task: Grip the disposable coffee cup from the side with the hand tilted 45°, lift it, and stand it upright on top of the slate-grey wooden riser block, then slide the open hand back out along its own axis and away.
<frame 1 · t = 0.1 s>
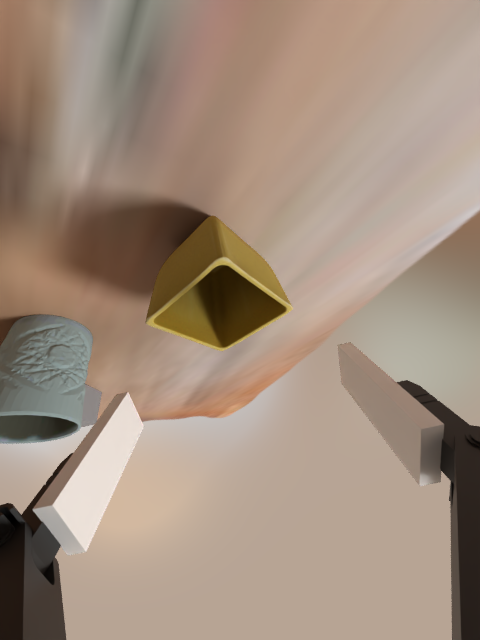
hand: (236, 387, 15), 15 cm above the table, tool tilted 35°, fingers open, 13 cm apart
grey-green cup: (55, 331, 31), on the table
riser block: (28, 388, 42), on the table
flower pot: (211, 246, 25), on the table
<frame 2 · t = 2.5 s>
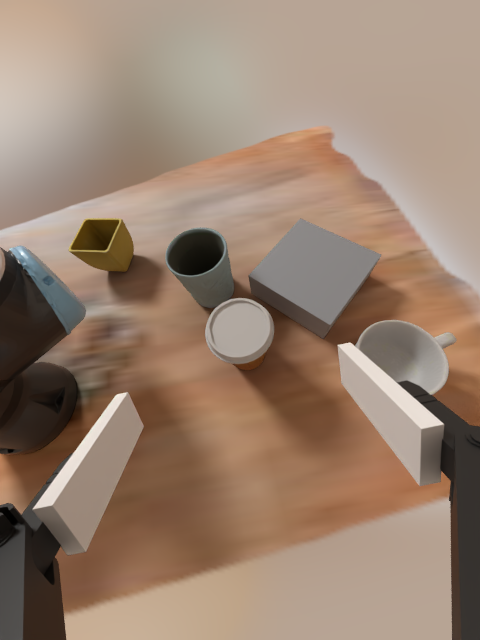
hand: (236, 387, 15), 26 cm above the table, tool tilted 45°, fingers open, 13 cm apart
disposable coffee cup: (247, 353, 43), on the table
grey-green cup: (212, 290, 49), on the table
riser block: (309, 284, 46), on the table
flower pot: (121, 263, 56), on the table
teacup: (387, 368, 38), on the table
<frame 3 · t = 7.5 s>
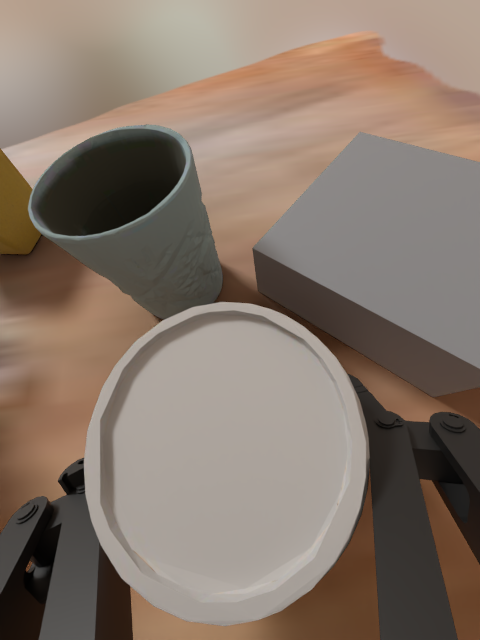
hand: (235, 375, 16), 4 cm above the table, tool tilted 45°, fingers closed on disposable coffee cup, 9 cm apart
disposable coffee cup: (251, 429, 18), on the table, touching gripper
grey-green cup: (181, 286, 25), on the table
riser block: (378, 271, 22), on the table
flower pot: (26, 240, 31), on the table
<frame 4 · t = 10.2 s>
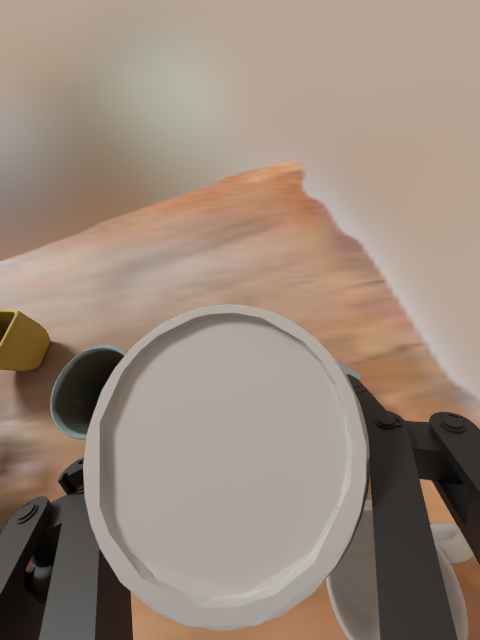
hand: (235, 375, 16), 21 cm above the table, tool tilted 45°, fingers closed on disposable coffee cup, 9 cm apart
disposable coffee cup: (251, 430, 18), point 17 cm above the table, touching gripper
grey-green cup: (145, 400, 37), on the table
flower pot: (35, 353, 43), on the table
teacup: (375, 542, 27), on the table
when the fingers open (11 cm above the table, at t = 13.4 s): disposable coffee cup moves 4 cm, resting on riser block.
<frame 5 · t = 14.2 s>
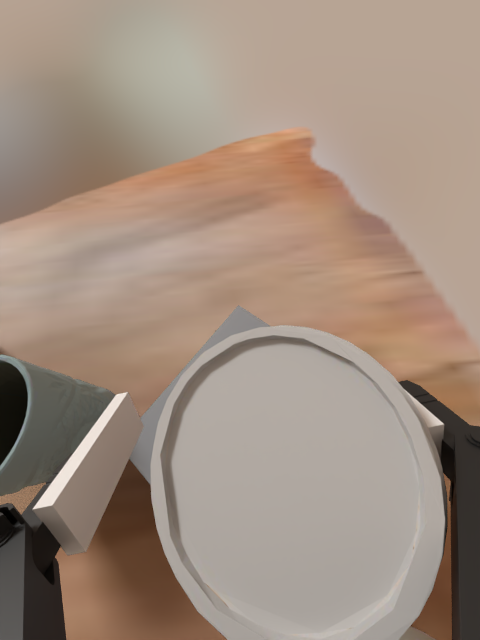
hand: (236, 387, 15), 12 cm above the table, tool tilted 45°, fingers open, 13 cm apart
disposable coffee cup: (303, 436, 18), point 6 cm above the table, touching gripper, riser block
grey-green cup: (87, 428, 27), on the table
riser block: (257, 429, 24), on the table
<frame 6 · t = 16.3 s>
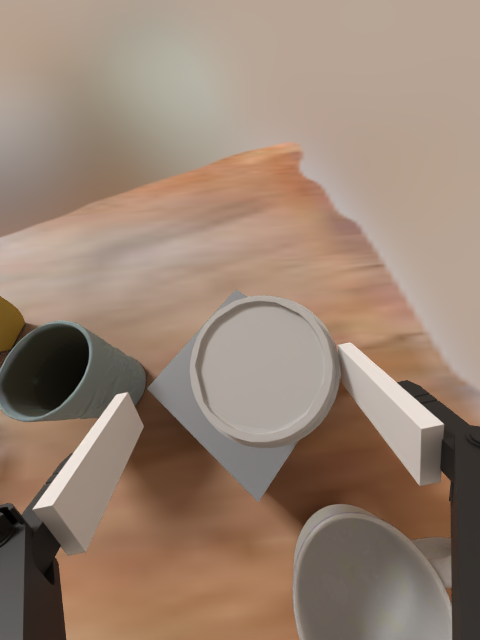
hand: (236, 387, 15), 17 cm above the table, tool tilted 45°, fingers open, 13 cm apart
disposable coffee cup: (281, 379, 25), point 6 cm above the table, touching gripper, riser block
grey-green cup: (117, 387, 34), on the table
riser block: (250, 385, 32), on the table
flower pot: (9, 335, 41), on the table
teacup: (359, 555, 24), on the table
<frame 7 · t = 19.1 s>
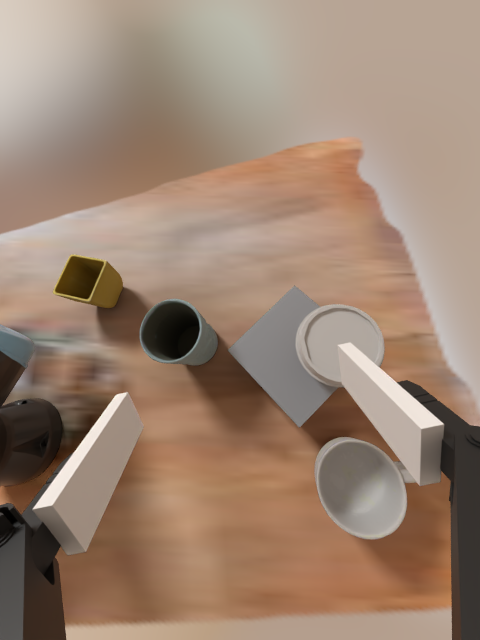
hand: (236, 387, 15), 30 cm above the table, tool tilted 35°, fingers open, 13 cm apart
disposable coffee cup: (322, 356, 37), point 6 cm above the table, touching riser block
grey-green cup: (196, 344, 48), on the table
riser block: (294, 355, 44), on the table
flower pot: (111, 294, 54), on the table
teacup: (355, 467, 38), on the table
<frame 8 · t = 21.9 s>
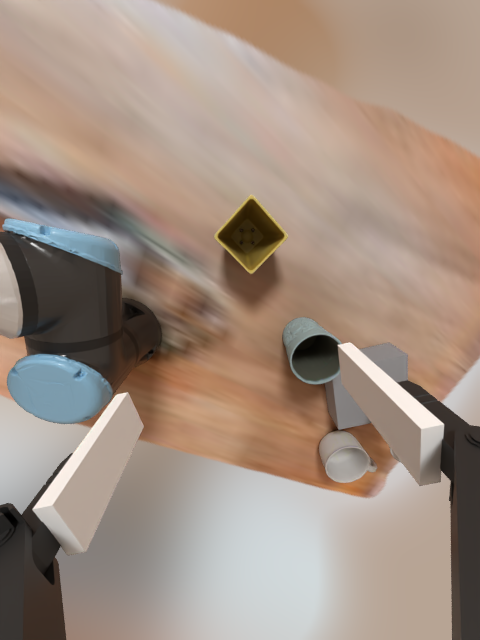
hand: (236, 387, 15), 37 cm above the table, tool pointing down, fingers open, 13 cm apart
grey-green cup: (299, 334, 54), on the table
riser block: (357, 379, 58), on the table
flower pot: (247, 236, 47), on the table
teacup: (339, 441, 65), on the table
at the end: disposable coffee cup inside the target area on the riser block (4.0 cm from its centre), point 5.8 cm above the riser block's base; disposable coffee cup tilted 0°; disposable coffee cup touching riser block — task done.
